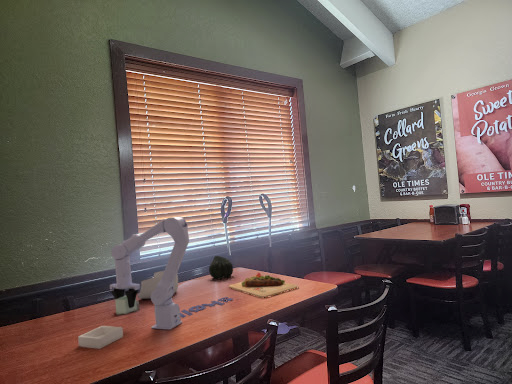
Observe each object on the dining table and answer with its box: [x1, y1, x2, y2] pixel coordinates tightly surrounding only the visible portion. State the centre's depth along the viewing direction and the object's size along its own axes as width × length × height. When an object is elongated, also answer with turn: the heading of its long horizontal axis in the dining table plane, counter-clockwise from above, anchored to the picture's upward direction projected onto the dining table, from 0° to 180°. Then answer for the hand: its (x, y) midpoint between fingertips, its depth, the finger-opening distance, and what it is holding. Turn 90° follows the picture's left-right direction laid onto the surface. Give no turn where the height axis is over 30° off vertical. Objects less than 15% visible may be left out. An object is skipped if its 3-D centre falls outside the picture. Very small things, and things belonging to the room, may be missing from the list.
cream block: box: [137, 270, 179, 300], centre depth 185 cm, size 20×19×12 cm
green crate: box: [114, 295, 137, 315], centre depth 137 cm, size 5×6×6 cm
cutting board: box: [228, 271, 299, 298], centre depth 179 cm, size 35×23×8 cm
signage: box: [180, 296, 234, 318], centre depth 155 cm, size 28×1×10 cm
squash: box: [208, 255, 234, 280], centre depth 214 cm, size 14×15×15 cm
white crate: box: [77, 325, 124, 350], centre depth 124 cm, size 11×11×4 cm
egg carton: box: [115, 300, 140, 316], centre depth 161 cm, size 11×8×4 cm
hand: (126, 307), depth 137 cm, fingers closed on green crate, 5 cm apart
